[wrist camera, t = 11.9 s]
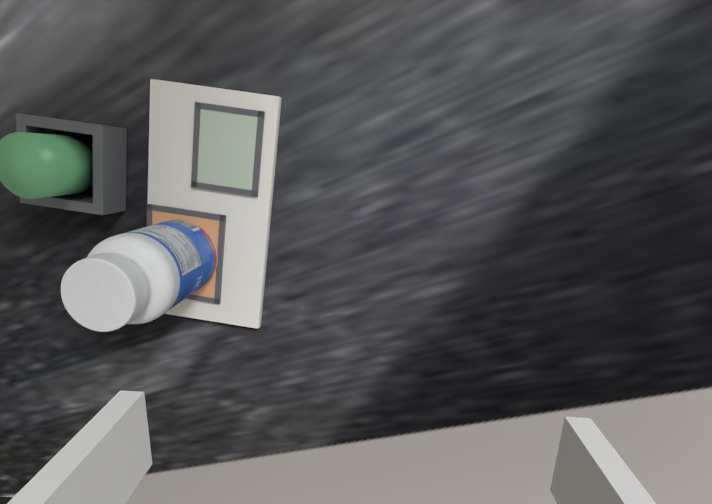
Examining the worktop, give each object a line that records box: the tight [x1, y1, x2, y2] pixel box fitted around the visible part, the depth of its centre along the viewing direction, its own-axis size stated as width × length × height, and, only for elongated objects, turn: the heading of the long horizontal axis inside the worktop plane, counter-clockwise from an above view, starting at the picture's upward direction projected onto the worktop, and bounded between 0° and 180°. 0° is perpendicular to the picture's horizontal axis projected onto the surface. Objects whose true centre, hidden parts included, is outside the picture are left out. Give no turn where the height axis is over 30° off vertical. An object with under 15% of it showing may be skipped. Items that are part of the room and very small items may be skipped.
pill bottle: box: [61, 220, 218, 332], centre depth 26 cm, size 6×5×10 cm
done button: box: [0, 132, 93, 199], centre depth 27 cm, size 4×4×4 cm
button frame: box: [15, 113, 127, 215], centre depth 29 cm, size 6×6×3 cm
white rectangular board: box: [146, 79, 282, 329], centre depth 30 cm, size 17×9×1 cm, turn 172°
